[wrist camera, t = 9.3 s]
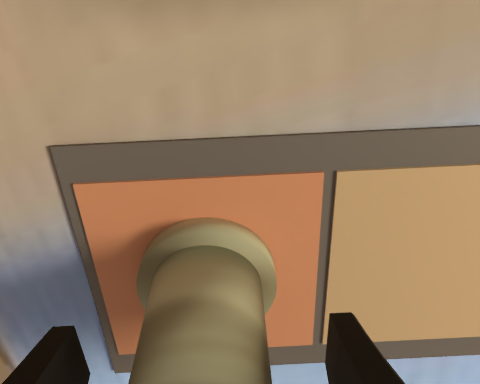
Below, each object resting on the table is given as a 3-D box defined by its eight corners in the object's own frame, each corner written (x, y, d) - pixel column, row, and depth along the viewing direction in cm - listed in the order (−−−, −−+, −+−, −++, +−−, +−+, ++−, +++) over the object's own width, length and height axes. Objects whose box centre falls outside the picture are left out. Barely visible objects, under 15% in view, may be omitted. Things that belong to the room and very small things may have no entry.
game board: (706, 341, 17) (710, 344, 17) (115, 370, 17) (114, 375, 17) (881, 105, 12) (891, 108, 12) (51, 145, 12) (48, 148, 12)
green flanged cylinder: (274, 317, 15) (295, 479, 11) (151, 323, 15) (117, 487, 11) (274, 213, 13) (302, 360, 8) (130, 220, 13) (74, 371, 8)
